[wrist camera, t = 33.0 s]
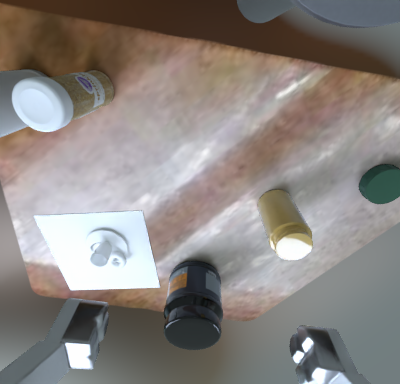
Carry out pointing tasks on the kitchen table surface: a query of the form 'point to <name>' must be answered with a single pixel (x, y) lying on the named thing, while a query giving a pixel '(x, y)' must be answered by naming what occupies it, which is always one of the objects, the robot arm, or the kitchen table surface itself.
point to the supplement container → (193, 306)
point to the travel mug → (3, 108)
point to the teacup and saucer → (101, 249)
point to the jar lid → (381, 184)
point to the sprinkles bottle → (60, 98)
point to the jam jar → (284, 225)
